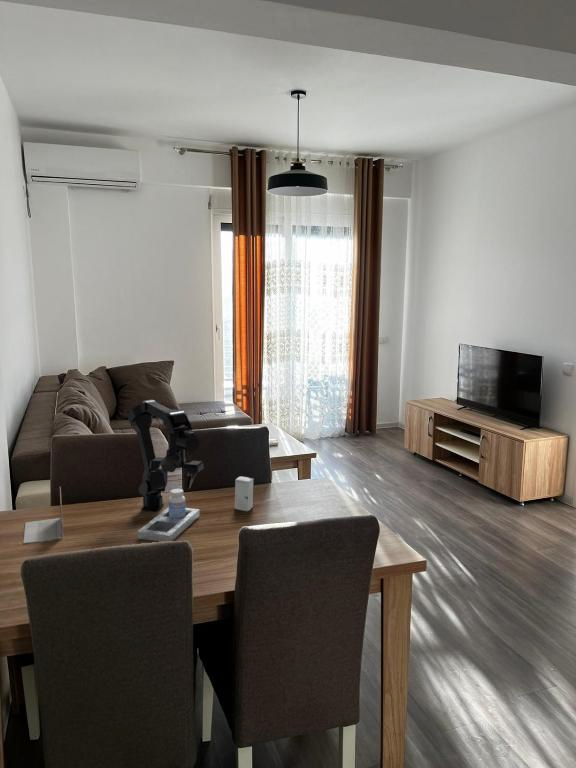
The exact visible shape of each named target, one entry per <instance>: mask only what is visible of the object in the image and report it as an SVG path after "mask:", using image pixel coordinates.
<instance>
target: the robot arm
mask: <svg viewBox="0 0 576 768" xmlns="http://www.w3.org/2000/svg"><path fill="white" fill-rule="evenodd" d="M153 417H156V418H158V419H159V420H161V421H162V424H163V425H164V426H165V427H166V429H165V430H164V432H165V433H167V444H168V445H167V450H166V452H165V453H166V454H165V456H164V457H163V456H162V457H161V456H156V453H155V448H154V443H153V439H152V435H151V431H150V429H151V426H152V423H153V419H152V418H153ZM127 419H128V422H129V425H130V428H132V429H133V431H134V432H135V433H136V436H137V440H138V445H139V448H140V453H141V458H142V463H143V467H144V471H143V474H142V477H141V478H142V479H141V480H142V482H141V484H140V485H139V487H138V493H139V494H140V495H142V502H143V505H142V507H141V510H143V511H150V512H151V511H152V512H157V511H159V510H160V509H161V508H162V507H164V503H163V495H162V492H165V491H166V487H167V486H168V473H173V472H175V471H176V469H186V471H187V472H186V475H187V490H190V489H191V487H192V485H193V482H194V479H195V478H196V475H197V474H198V473H200V472H201V471H203V470H204V466H205V465H204V464H205V463H203V461H202V460H200V461H199V460H191V461H190V462H187V458H186V457H185V456H186V455H185V453H186V452H189V453H194V452H196V451H197V450H198V449H199V447H200V443H201V442H200V440H199V438H198V437H197V436H195V432H194V431H193V427H192V424H191V422H190V420H189V418H188V415H187V413H186V412H185V411H184V410H181V409H180V410H179V409H171V408H168V407H166V406H165V405H162V404H161V403H159V402H157V401H156V400H154V399H147V400H142V401H141V402H140V403H139V404H138V405H136V406H135V407H133V408H131V410H129V413H127ZM185 451H186V452H185Z"/></svg>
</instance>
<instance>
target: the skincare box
mask: <svg viewBox="0 0 576 768" xmlns="http://www.w3.org/2000/svg"><path fill="white" fill-rule="evenodd" d="M234 482H235V484H234V488H235V489H234V509H235V510H239V511H244V512H249V511H251V508H252V509H253V504H254V503H253V501H254V498H253V497H254V478H252V477H247V476H238V477H237V478H235V481H234Z"/></svg>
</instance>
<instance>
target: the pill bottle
mask: <svg viewBox="0 0 576 768" xmlns="http://www.w3.org/2000/svg"><path fill="white" fill-rule="evenodd" d="M169 494H170V496H169V497H168V507H169V517H171V518H178V519H183V518H184V517H185V508H186V497H185V496H184V490H183V488H173V489H171V490H170V493H169Z"/></svg>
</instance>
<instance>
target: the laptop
mask: <svg viewBox="0 0 576 768" xmlns="http://www.w3.org/2000/svg"><path fill="white" fill-rule="evenodd" d="M61 487H62V486H59V506H60V517H57V518H49V519H41V520H32V521H26V522H25V523H24V531H23V532H24V533H23V540H22V541H23V542H22V543H23V544H24V545H25V544H33V543H34V544H35V543H43V542H48V541H49V542H50V541H56V540H63V539H64V530H63V529H64V526H63V525H64V524H63V523H64V522H63V519H64V518H63V506H62V488H61Z"/></svg>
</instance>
